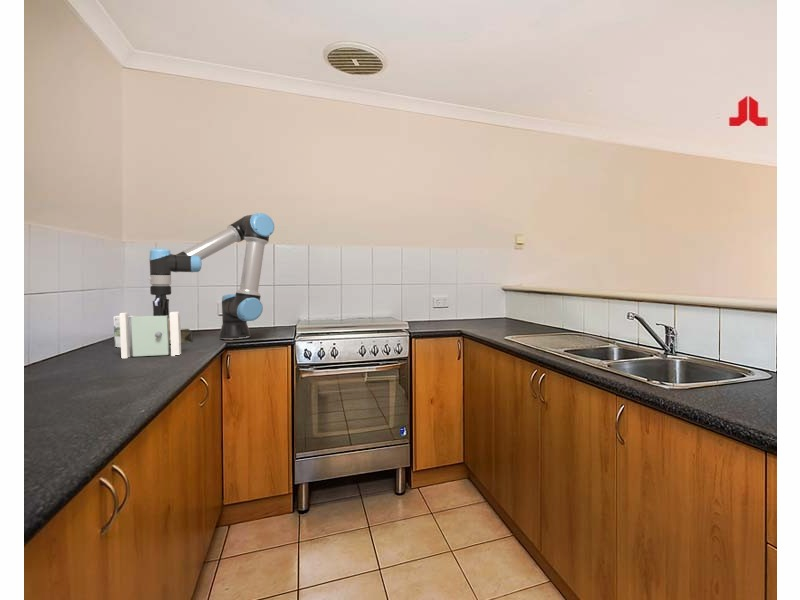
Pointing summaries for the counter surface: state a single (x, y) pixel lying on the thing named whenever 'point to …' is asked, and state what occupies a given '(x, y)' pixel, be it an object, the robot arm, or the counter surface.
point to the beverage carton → (185, 336)
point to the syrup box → (118, 330)
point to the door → (149, 335)
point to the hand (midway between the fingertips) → (161, 339)
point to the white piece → (174, 334)
